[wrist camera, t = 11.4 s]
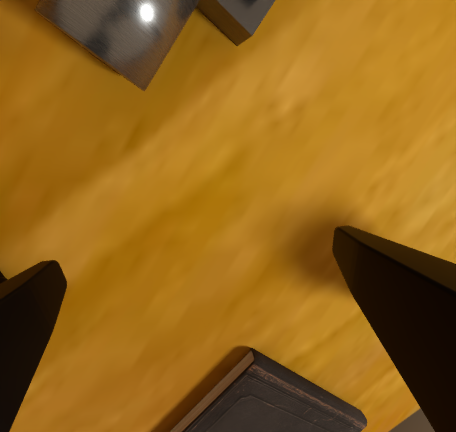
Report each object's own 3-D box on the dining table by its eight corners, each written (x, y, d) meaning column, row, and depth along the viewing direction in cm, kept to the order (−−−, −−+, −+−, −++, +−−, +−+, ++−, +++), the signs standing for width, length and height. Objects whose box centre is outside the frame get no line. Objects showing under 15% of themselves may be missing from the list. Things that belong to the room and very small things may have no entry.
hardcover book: (279, 478, 41) (286, 498, 38) (151, 440, 31) (151, 465, 29) (358, 406, 39) (370, 423, 37) (250, 343, 29) (257, 361, 27)
